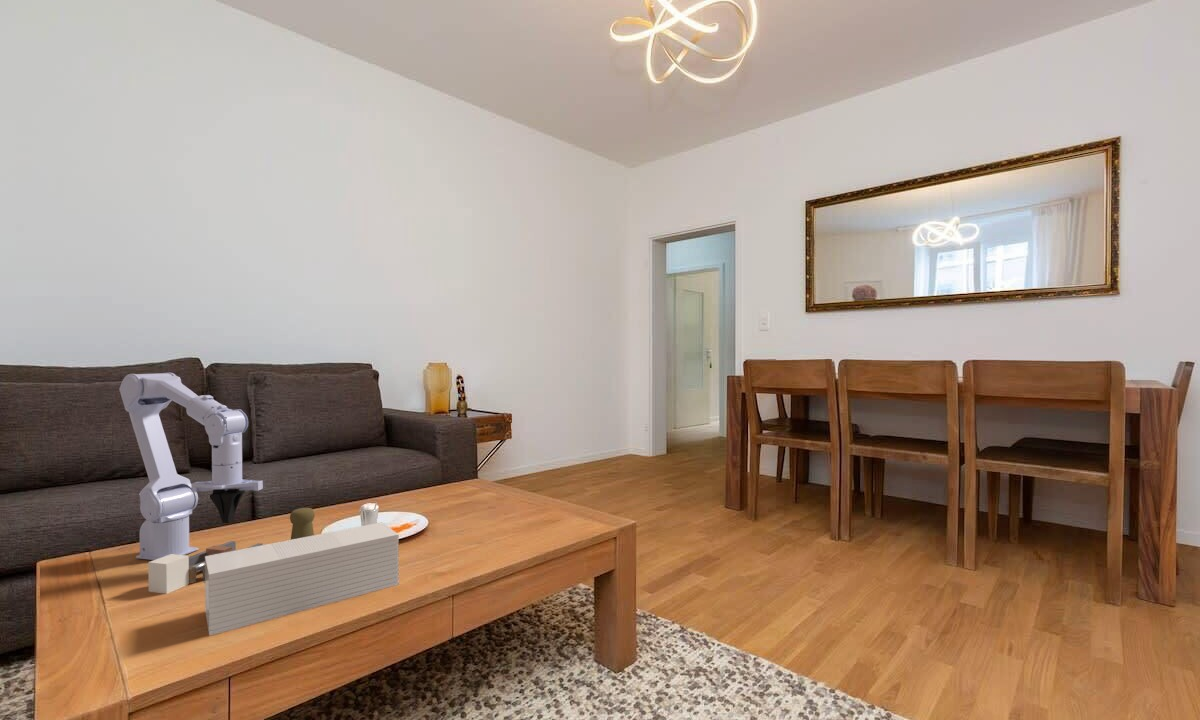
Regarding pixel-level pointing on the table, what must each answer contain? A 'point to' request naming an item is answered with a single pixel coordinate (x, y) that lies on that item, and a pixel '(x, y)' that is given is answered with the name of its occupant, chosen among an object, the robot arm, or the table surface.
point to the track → (201, 556)
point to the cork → (302, 523)
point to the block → (168, 573)
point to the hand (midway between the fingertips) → (227, 521)
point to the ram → (199, 566)
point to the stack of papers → (298, 575)
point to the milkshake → (369, 513)
